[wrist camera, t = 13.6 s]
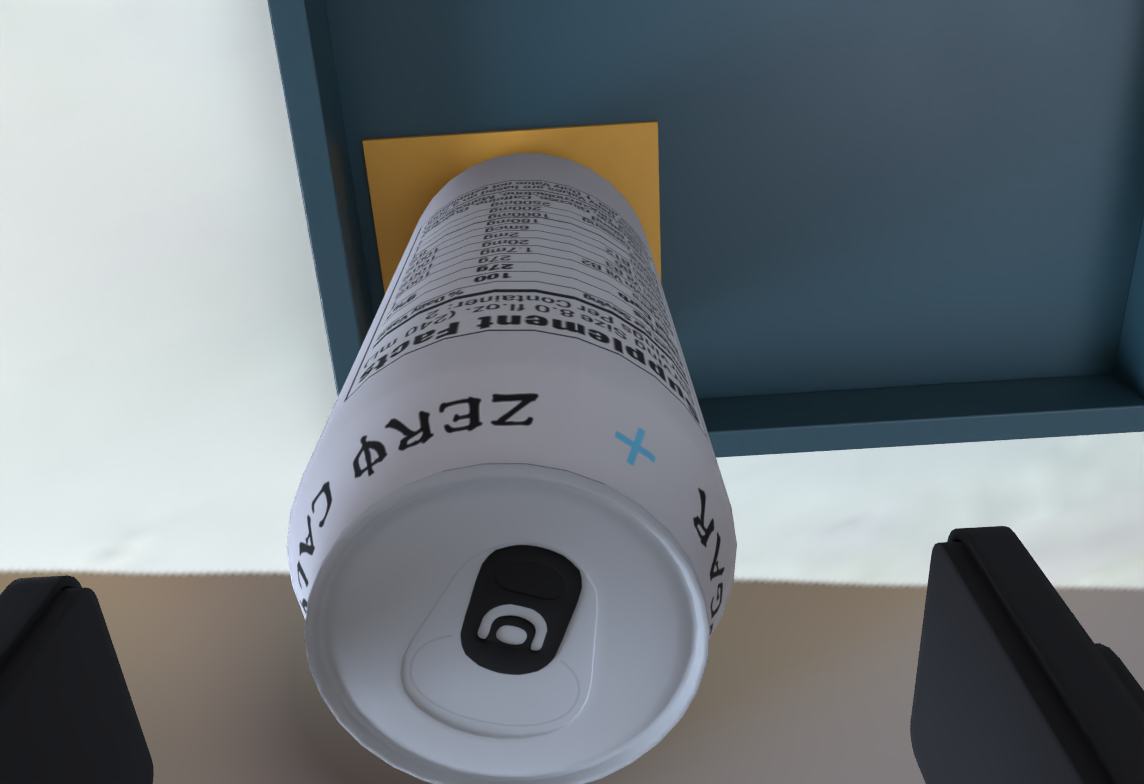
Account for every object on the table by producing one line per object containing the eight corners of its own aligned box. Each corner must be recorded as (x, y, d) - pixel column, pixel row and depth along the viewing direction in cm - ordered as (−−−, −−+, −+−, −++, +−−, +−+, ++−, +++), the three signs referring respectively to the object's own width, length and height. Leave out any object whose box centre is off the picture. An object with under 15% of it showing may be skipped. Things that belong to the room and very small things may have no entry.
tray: (1252, -261, 21) (1339, -285, 19) (1124, 388, 28) (1177, 430, 26) (264, -195, 22) (229, -211, 19) (368, 434, 28) (351, 480, 26)
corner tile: (656, 120, 24) (657, 122, 24) (662, 387, 27) (663, 390, 27) (363, 139, 24) (362, 140, 24) (402, 403, 27) (401, 406, 27)
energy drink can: (389, 336, 26) (214, 777, 12) (445, 113, 24) (304, 358, 10) (606, 395, 27) (662, 868, 13) (680, 185, 25) (842, 501, 11)
